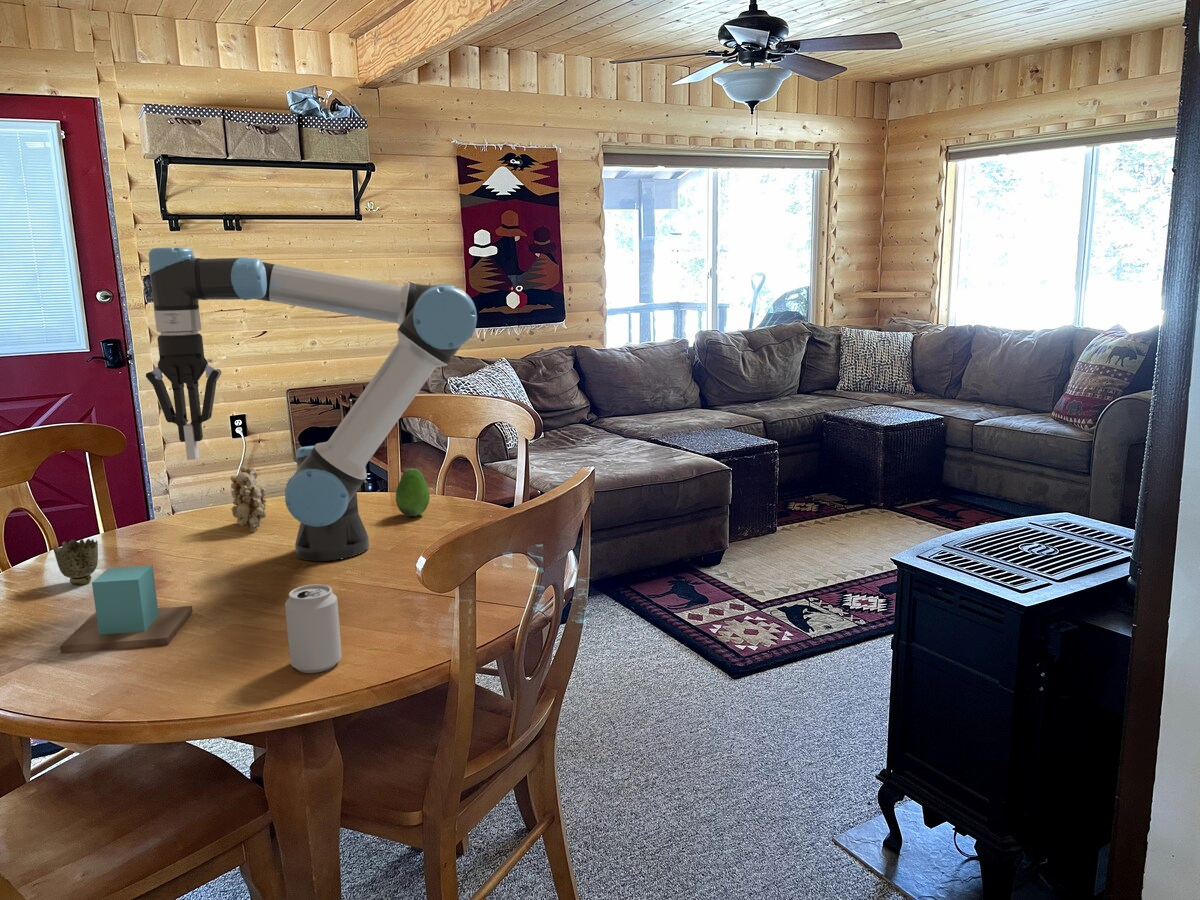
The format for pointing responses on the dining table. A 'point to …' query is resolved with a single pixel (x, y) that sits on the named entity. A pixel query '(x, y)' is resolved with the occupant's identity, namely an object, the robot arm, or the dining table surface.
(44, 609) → the dining table surface
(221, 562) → the dining table surface
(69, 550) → the cup
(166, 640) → the peg base
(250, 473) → the mineral formation
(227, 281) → the robot arm
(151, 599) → the teal toy cube
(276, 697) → the dining table surface
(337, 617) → the can
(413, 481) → the fruit
